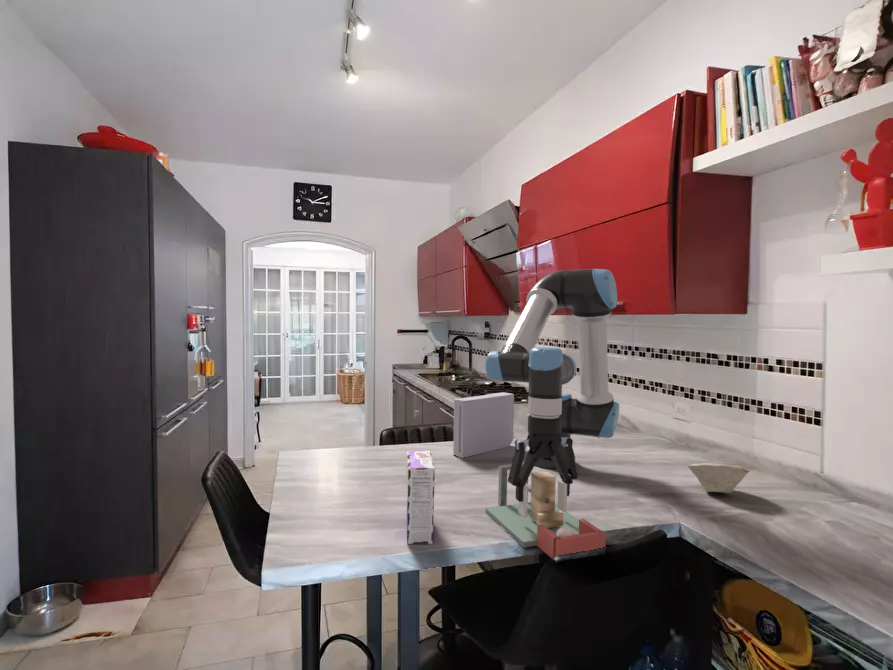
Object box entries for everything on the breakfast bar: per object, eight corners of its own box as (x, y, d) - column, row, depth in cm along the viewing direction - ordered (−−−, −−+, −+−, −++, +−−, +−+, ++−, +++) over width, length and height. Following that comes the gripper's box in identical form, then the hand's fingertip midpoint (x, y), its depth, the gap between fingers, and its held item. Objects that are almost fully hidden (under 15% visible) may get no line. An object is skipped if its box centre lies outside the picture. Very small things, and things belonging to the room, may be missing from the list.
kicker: (521, 495, 130) (522, 455, 130) (563, 525, 112) (564, 478, 111) (500, 497, 129) (501, 457, 128) (539, 528, 110) (540, 481, 109)
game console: (450, 455, 175) (451, 398, 175) (501, 443, 194) (502, 392, 193) (462, 458, 171) (463, 400, 171) (513, 445, 190) (514, 393, 189)
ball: (581, 536, 103) (575, 549, 105) (571, 521, 107) (566, 534, 108) (564, 539, 102) (559, 552, 104) (555, 523, 105) (550, 536, 107)
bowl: (741, 488, 144) (742, 454, 144) (754, 505, 131) (755, 467, 131) (684, 482, 149) (685, 449, 149) (691, 497, 136) (692, 461, 135)
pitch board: (549, 505, 129) (549, 500, 129) (596, 536, 110) (596, 531, 110) (485, 512, 123) (485, 507, 123) (523, 547, 104) (523, 542, 104)
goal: (583, 538, 109) (583, 518, 109) (605, 554, 102) (605, 533, 101) (537, 545, 105) (537, 525, 105) (556, 562, 98) (556, 540, 98)
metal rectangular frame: (524, 502, 131) (525, 463, 130) (527, 504, 129) (528, 465, 129) (498, 505, 128) (499, 465, 128) (500, 507, 127) (501, 467, 126)
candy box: (406, 518, 118) (406, 450, 118) (430, 518, 119) (431, 450, 118) (406, 545, 105) (407, 467, 104) (434, 544, 105) (435, 467, 105)
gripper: (577, 410, 121) (575, 501, 121) (493, 414, 114) (491, 511, 114) (595, 416, 114) (593, 513, 114) (507, 420, 107) (505, 524, 107)
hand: (542, 512), depth 114 cm, fingers open, 9 cm apart
